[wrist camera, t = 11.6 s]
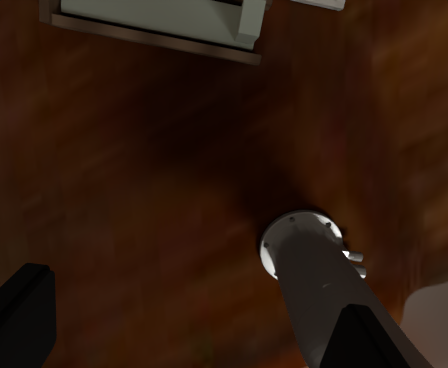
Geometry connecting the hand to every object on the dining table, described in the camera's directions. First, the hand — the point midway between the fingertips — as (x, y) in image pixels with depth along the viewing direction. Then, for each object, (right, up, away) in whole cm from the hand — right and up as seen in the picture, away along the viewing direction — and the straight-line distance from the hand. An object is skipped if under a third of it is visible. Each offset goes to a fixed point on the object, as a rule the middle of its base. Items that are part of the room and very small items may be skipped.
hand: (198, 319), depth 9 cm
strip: (-6, +24, +23) cm, 34 cm away
